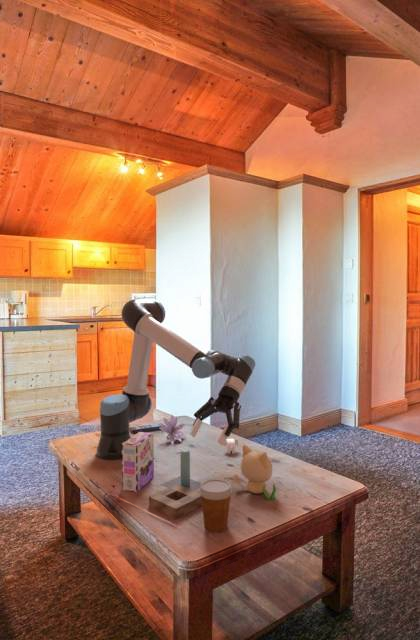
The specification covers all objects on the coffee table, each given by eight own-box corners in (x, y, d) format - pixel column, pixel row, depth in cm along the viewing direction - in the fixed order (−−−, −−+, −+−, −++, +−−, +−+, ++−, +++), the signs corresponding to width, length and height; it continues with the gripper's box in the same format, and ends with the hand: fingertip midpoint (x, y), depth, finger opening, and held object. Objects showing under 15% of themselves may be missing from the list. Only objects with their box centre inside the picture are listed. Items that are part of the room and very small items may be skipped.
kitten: (284, 494, 145) (285, 450, 144) (264, 504, 138) (264, 457, 137) (251, 480, 156) (251, 438, 155) (231, 489, 149) (231, 445, 148)
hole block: (149, 507, 136) (148, 496, 136) (176, 494, 145) (176, 484, 145) (176, 520, 129) (176, 508, 128) (203, 505, 138) (203, 494, 137)
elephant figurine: (238, 448, 188) (238, 435, 188) (239, 455, 180) (239, 441, 180) (222, 449, 188) (222, 435, 188) (223, 456, 180) (223, 441, 180)
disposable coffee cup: (198, 519, 129) (197, 479, 129) (230, 517, 130) (230, 477, 129) (200, 536, 120) (199, 493, 119) (234, 535, 121) (234, 492, 120)
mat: (160, 485, 152) (160, 484, 152) (181, 476, 160) (181, 475, 160) (185, 496, 144) (185, 494, 144) (206, 486, 152) (206, 484, 152)
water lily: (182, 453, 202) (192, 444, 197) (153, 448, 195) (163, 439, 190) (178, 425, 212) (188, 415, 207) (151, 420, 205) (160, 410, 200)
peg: (178, 485, 151) (178, 451, 150) (185, 482, 154) (185, 448, 153) (185, 488, 149) (185, 453, 148) (192, 485, 151) (191, 451, 151)
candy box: (137, 493, 146) (136, 444, 145) (121, 491, 148) (120, 443, 147) (154, 477, 160) (154, 432, 159) (139, 475, 161) (139, 430, 160)
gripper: (262, 401, 162) (237, 452, 152) (211, 391, 179) (186, 437, 168) (254, 389, 158) (228, 441, 147) (202, 380, 174) (175, 427, 164)
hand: (205, 439), depth 158 cm, fingers open, 13 cm apart
